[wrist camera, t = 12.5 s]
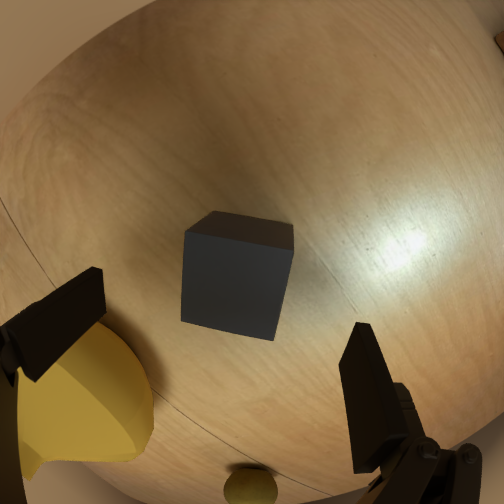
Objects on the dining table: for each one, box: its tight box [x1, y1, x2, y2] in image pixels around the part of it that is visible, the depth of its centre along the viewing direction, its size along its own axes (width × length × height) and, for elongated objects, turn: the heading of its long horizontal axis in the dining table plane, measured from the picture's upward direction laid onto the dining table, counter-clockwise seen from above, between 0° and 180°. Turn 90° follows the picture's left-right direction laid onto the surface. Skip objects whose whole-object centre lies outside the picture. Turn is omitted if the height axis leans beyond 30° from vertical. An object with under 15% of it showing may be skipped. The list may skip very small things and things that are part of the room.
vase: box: [17, 322, 154, 481], centre depth 19 cm, size 18×18×19 cm
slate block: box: [181, 211, 294, 341], centre depth 19 cm, size 6×6×6 cm
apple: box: [224, 468, 278, 504], centre depth 29 cm, size 8×8×7 cm
